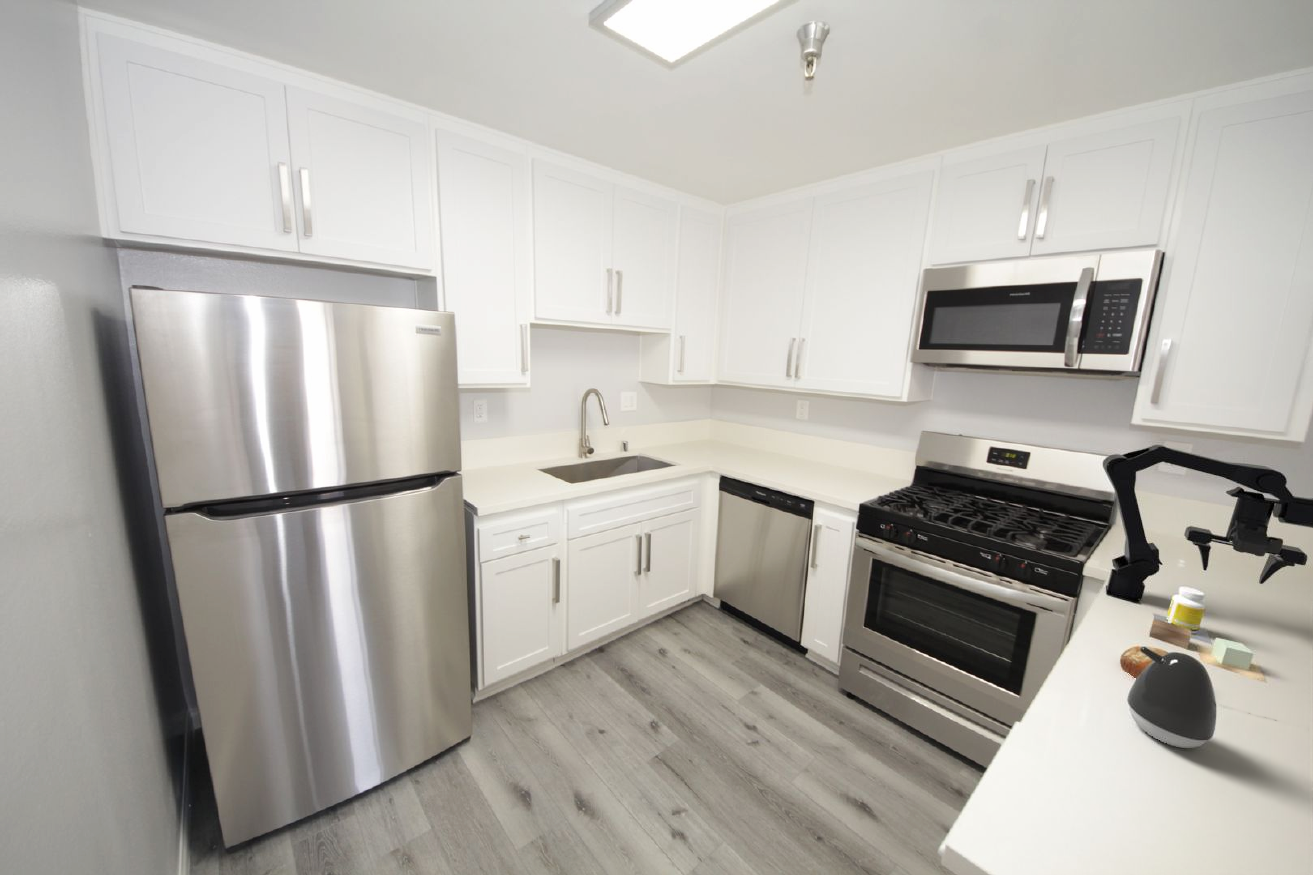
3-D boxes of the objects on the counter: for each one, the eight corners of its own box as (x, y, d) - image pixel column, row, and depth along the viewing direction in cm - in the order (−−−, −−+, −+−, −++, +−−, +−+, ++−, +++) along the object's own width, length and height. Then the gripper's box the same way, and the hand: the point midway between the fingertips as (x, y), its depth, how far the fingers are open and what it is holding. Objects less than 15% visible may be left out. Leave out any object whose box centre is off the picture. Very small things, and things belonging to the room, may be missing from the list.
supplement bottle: (1204, 636, 113) (1216, 598, 111) (1177, 632, 114) (1188, 594, 112) (1184, 623, 118) (1195, 586, 116) (1158, 619, 119) (1169, 583, 117)
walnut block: (1148, 639, 112) (1152, 623, 111) (1149, 633, 114) (1153, 617, 114) (1186, 652, 107) (1190, 636, 107) (1186, 645, 110) (1191, 630, 109)
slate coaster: (1155, 629, 116) (1156, 627, 116) (1152, 615, 123) (1153, 613, 122) (1211, 646, 110) (1212, 644, 110) (1204, 630, 117) (1205, 628, 117)
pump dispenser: (1117, 702, 90) (1138, 629, 87) (1199, 732, 83) (1224, 655, 80) (1123, 734, 82) (1146, 655, 79) (1214, 770, 76) (1242, 686, 73)
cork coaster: (1200, 663, 103) (1201, 661, 103) (1194, 645, 110) (1195, 643, 110) (1266, 685, 97) (1267, 682, 97) (1255, 664, 104) (1256, 662, 104)
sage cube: (1221, 663, 103) (1226, 647, 102) (1210, 653, 106) (1216, 637, 105) (1248, 670, 101) (1253, 653, 100) (1236, 659, 104) (1241, 643, 104)
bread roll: (1170, 691, 99) (1168, 650, 101) (1209, 703, 90) (1206, 658, 92) (1111, 678, 103) (1110, 638, 104) (1143, 688, 93) (1141, 644, 95)
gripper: (1199, 514, 117) (1181, 573, 120) (1325, 537, 105) (1302, 603, 108) (1192, 504, 125) (1176, 560, 128) (1308, 525, 113) (1287, 586, 116)
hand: (1231, 576), depth 120 cm, fingers open, 9 cm apart
